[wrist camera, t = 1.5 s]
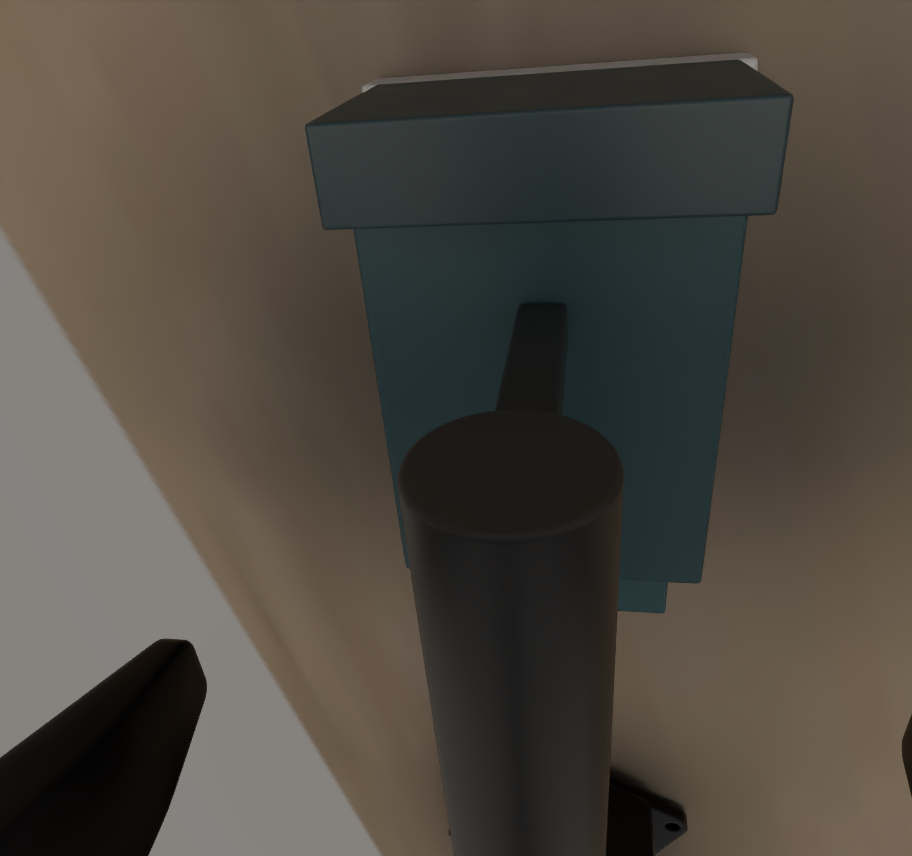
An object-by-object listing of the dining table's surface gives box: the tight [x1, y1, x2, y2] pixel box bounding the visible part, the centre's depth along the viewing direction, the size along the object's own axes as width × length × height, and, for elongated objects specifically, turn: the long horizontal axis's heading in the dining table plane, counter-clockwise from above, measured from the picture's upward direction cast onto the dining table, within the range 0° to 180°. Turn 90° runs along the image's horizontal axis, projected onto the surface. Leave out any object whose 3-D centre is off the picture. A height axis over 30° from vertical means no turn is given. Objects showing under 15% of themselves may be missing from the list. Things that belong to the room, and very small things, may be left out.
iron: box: [305, 52, 794, 856], centre depth 12 cm, size 12×7×11 cm, turn 4°
